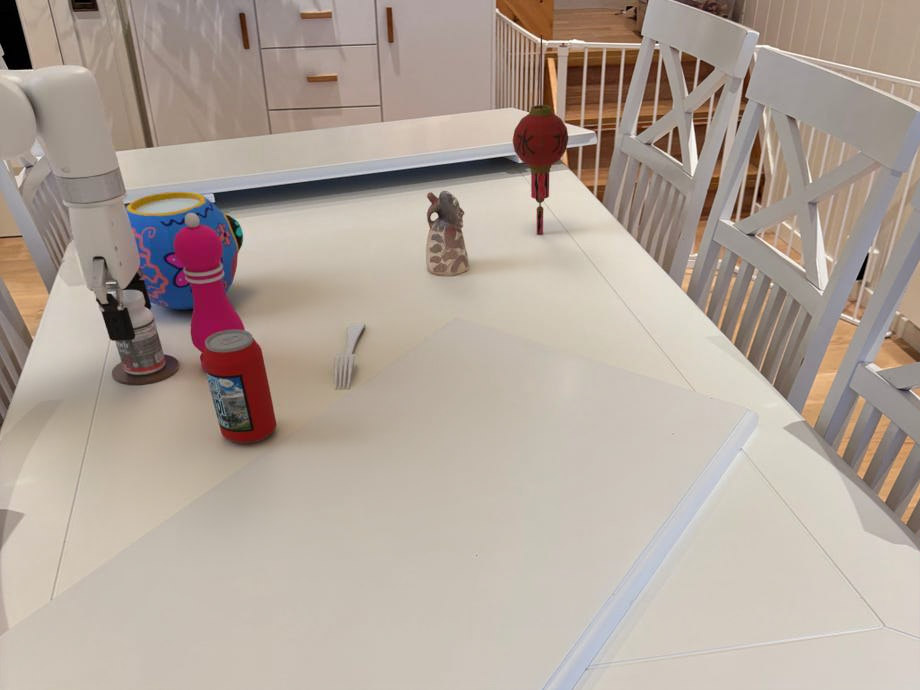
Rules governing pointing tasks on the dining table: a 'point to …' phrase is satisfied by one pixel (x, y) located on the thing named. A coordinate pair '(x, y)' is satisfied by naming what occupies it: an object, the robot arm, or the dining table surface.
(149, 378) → the coaster
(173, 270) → the ceramic pot
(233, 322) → the pepper mill
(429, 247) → the figurine
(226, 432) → the beverage can
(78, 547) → the dining table surface
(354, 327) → the fork
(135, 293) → the pill bottle
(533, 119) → the lantern
